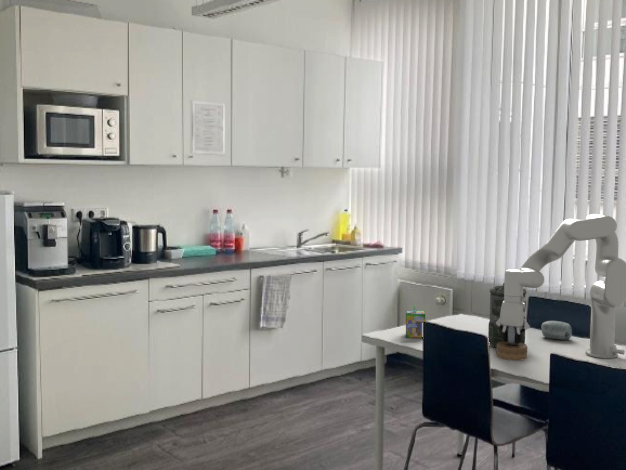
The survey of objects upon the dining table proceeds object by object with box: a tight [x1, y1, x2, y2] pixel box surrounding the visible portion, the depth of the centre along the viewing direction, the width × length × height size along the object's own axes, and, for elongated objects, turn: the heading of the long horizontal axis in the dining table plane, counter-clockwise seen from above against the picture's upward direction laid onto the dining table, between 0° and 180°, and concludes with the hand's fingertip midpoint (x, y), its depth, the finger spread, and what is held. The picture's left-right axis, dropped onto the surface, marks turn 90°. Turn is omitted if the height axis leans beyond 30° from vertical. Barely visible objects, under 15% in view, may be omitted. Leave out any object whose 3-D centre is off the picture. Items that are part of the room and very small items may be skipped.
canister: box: [487, 282, 527, 349], centre depth 313 cm, size 16×16×28 cm
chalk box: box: [405, 304, 426, 339], centre depth 331 cm, size 9×9×15 cm
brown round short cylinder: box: [496, 341, 528, 361], centre depth 296 cm, size 12×12×5 cm
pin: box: [507, 325, 517, 347], centre depth 295 cm, size 4×4×14 cm
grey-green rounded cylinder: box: [540, 320, 573, 341], centre depth 327 cm, size 14×10×10 cm
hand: (512, 341), depth 295 cm, fingers open, 4 cm apart
